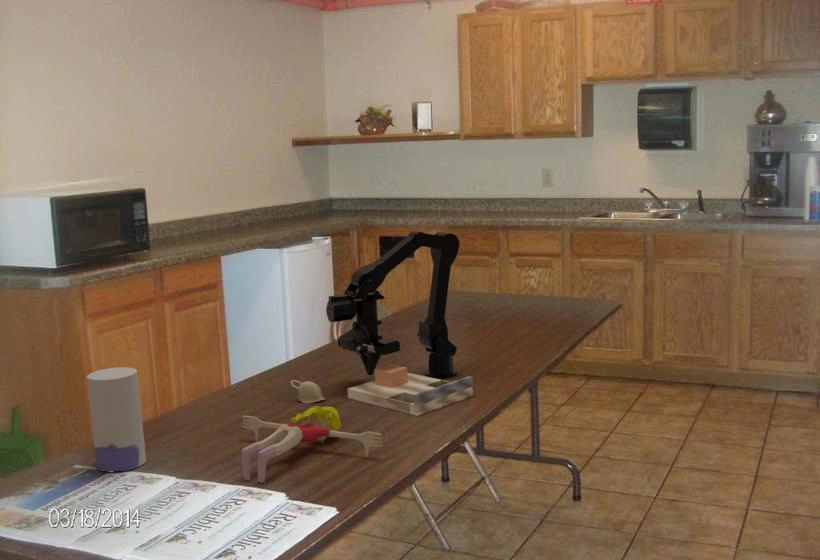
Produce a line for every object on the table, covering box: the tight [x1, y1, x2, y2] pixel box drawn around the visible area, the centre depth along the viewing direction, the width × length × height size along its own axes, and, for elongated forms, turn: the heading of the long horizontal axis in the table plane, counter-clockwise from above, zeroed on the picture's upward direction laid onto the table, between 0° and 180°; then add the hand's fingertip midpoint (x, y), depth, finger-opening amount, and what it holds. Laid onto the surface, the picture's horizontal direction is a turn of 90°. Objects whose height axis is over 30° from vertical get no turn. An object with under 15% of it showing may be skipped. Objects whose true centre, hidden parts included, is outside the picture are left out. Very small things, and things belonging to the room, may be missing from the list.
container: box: [86, 366, 147, 472], centre depth 186 cm, size 10×10×20 cm
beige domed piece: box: [290, 379, 326, 404], centre depth 227 cm, size 4×8×5 cm, turn 64°
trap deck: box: [347, 372, 474, 417], centre depth 226 cm, size 20×25×5 cm
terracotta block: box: [374, 364, 409, 388], centre depth 230 cm, size 6×6×4 cm
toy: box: [241, 405, 383, 484], centre depth 190 cm, size 28×28×9 cm
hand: (370, 375), depth 236 cm, fingers closed
